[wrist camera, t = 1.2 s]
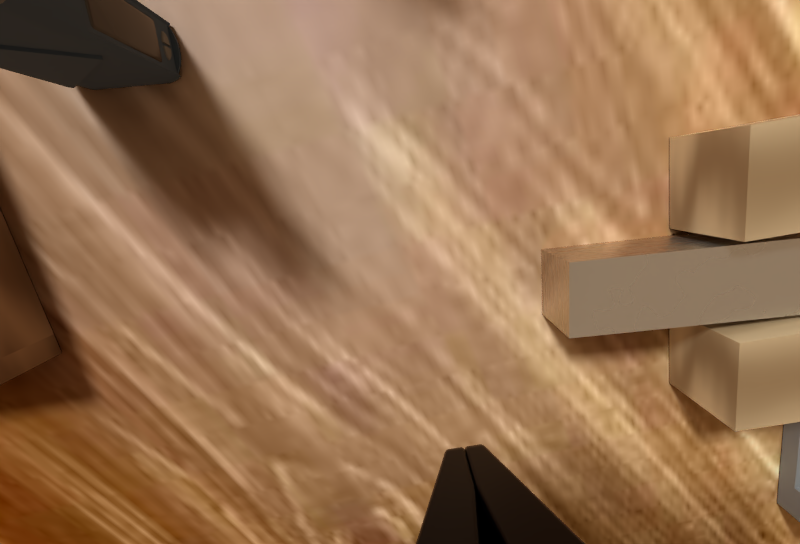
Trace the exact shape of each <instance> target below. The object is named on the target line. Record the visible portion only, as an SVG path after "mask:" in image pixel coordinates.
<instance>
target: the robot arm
mask: <svg viewBox="0 0 800 544" xmlns="http://www.w3.org/2000/svg"><path fill="white" fill-rule="evenodd" d="M416 544H585V543H584V542H583V541H582V540H581V539H580V538H579V537H578V536H576V535H575V534H574V533H573V532H572V531H571V530H570V529H569V528H568V527H567V526H566V525H565V524H564V523H563V522H562V521H561V520H560V519H559V518H558V517H557V516H556V515H555V514H554V513H553V512H552V511H551V510H550V509H549V508H548V507H547V506H546V505H545V504H544V503H543V502H541V501H540V500H539V499H538V498H537V497H536V496H535V495H534V494H533V493H532V492H531V491H530V490H529V489H528V488H527V487H526V486H525V485H524V484H523V483H522V482H521V481H520V480H519V479H518V478H517V477H516V476H515V475H514V474H513V473H512V472H511V471H510V470H509V469H508V468H507V467H505V466H504V465H503V464H502V463H501V462H500V461H499V460H498V459H497V458H496V457H495V456H494V455H493V454H492V453H491V452H490V451H489V450H488V449H487V448H486V447H485V446H484V445H481V444H480V445H473V446H467V447H466V448H465V450H464V448H462V447H460V448H454V449H448V450H446V452H445V454H444V457H443V461H442V464H441V467H440V470H439V473H438V476H437V479H436V483H435V486H434V489H433V492H432V495H431V498H430V501H429V505H428V508H427V511H426V514H425V517H424V520H423V523H422V527H421V530H420V533H419V536H418V539H417V542H416Z"/></svg>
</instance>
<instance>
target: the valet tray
mask: <svg viewBox="0 0 800 544" xmlns="http://www.w3.org/2000/svg"><path fill="white" fill-rule="evenodd" d="M61 353H62V352H61V350H60V347H59V345H58V343H57V340H56V338H55V336H54V334H53V331H52V329H51V327H50V324H49V322H48V320H47V317H46V315H45V313H44V310H43V308H42V306H41V303H40V301H39V299H38V296H37V294H36V292H35V289H34V287H33V285H32V282H31V280H30V278H29V275H28V273H27V271H26V268H25V266H24V264H23V261H22V259H21V257H20V254H19V252H18V250H17V247H16V245H15V243H14V240H13V238H12V236H11V233H10V231H9V229H8V226H7V224H6V222H5V219H4V217H3V215H2V212H1V210H0V385H1V384H3V383H5V382H7V381H9V380H11V379H13V378H15V377H17V376H18V375H20V374H22V373H24V372H26V371H28V370H30V369H32V368H34V367H36V366H38V365H40V364H42V363H44V362H45V361H47V360H49V359H51V358H53V357H55V356H57V355H59V354H61Z"/></svg>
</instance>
